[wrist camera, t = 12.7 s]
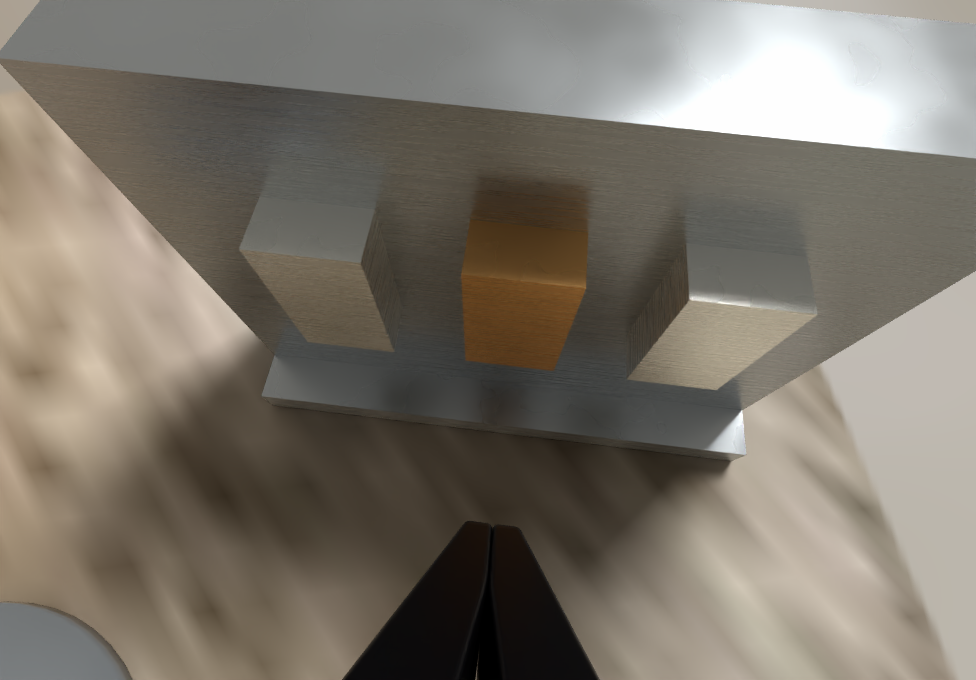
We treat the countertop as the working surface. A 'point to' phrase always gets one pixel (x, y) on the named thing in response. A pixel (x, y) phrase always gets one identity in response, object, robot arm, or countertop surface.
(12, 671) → the coaster
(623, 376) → the switch panel
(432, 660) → the robot arm
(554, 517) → the countertop surface
